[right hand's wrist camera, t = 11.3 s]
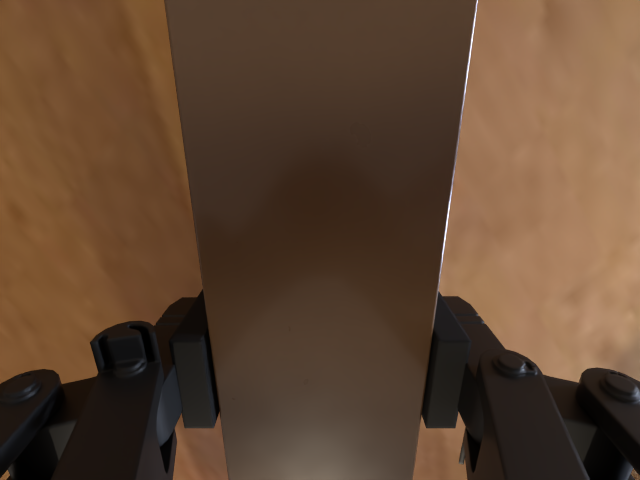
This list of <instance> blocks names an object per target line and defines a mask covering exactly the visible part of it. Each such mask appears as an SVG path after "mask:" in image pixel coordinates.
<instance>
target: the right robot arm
mask: <svg viewBox="0 0 640 480" xmlns="http://www.w3.org/2000/svg"><path fill="white" fill-rule="evenodd" d="M90 344H91V348H92V351H93V355H94V359H95V362H96V366H97V369H98V375H97V376H96V377H92V378H89V379H84V380H79V381H75V382H70V383H65V384H61V381H60V378H59V375H58V374H57V373H56V372H55V371H53V370H46V369H41V370H34V371H29V372H25V373H23V374H19V375H16V376H14V377H13V378H11V379H9V380H7V381H5V382H3V383H1V384H0V478H1V477H2V475H3V474H4V473H5V472H6V471H7V469H8V472H9V474H10V476H9V477H8V479H7V480H173V471H174V463H175V454H176V445H177V439H176V433H175V426H176V423H177V421H178V419H179V417H180V415H181V413H182V417H183V422H184V427H185V428H214V426H215V423H216V420H217V417H218V414H219V403H218V396H217V388H216V381H215V374H214V366H213V359H212V351H211V344H210V336H209V329H208V322H207V314H206V307H205V299H204V292H203V289H202V291H201V293H200V294H199V296H198V297H182V298H181V299H179V300H178V301H176V302H175V303H173V304H172V305H170V306H169V307H168V308H167V310H166V311H165V312H164V314H163V315H162V317H160V319H159V320H158V321H157V323H156V325H154V326H153V325H151V324H150V323H148V322H144V321H129V322H125V323H120V324H117V325H114V326H112V327H110V328H107V329H105V330H104V331H102V332H101V333H99V334H98V335H96V336H95V337H94V338H93V340H92V341H91V342H90ZM458 411H459V413H460V415H461V417H462V419H463V422H464V424H465V426H466V428H465V433H464V438H463V443H462V448H461V453H460V458H459V464H463V465H464V460H465V462H466V470H467V479H468V480H635V479H634V478H633V476H632V475H631V472H632V469H633V468H634V469H635V470H636V472H637V473H638V474H639V475H640V382H639V381H637V380H635V379H633V378H631V377H629V376H627V375H625V374H623V373H620V372H617V371H614V370H610V369H603V368H590V369H587V370H585V371H584V372H583V373H582V375H581V378H580V381H579V383H577V382H572V381H568V380H563V379H558V378H554V377H549V376H546V375H543V374H542V372H541V370H540V369H539V368H538V366H537V365H536V364H535V363H534V362H532V361H531V360H530V359H528V358H527V357H525V356H523V355H521V354H519V353H517V352H514V351H510V350H506V349H505V348H504V347H503V345H502V344H501V343H500V342H499V340H498V339H497V338H496V336H495V335H494V334H493V333H492V331H491V330H490V329H489V328H488V326H487V325H486V324H484V321H483V320H482V319H481V317H480V316H478V313H477V312H476V311H475V310H474V308H473V307H472V306H471V305H470V304H469V303H467V302H466V301H464V300H463V299H461V298H460V297H458V296H441V294H440V292H439V291H438V297H437V305H436V312H435V319H434V327H433V334H432V341H431V349H430V356H429V363H428V371H427V378H426V385H425V393H424V400H423V407H422V417H423V420H424V423H425V426H426V428H455V427H456V422H457V417H458Z"/></svg>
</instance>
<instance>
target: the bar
mask: <svg viewBox="0 0 640 480" xmlns="http://www.w3.org/2000/svg"><path fill="white" fill-rule="evenodd" d="M164 2H165V10H166V17H167V24H168V32H169V39H170V47H171V54H172V62H173V69H174V76H175V84H176V91H177V99H178V106H179V114H180V121H181V128H182V136H183V143H184V151H185V158H186V166H187V173H188V180H189V188H190V195H191V203H192V210H193V218H194V225H195V232H196V240H197V247H198V255H199V262H200V270H201V277H202V284H203V292H204V299H205V307H206V314H207V322H208V329H209V336H210V344H211V351H212V359H213V366H214V374H215V381H216V388H217V396H218V403H219V411H220V418H221V426H222V433H223V440H224V448H225V455H226V463H227V470H228V478H229V480H413V473H414V466H415V458H416V451H417V444H418V437H419V429H420V422H421V415H422V407H423V400H424V393H425V385H426V378H427V371H428V363H429V356H430V349H431V341H432V334H433V327H434V319H435V312H436V305H437V297H438V290H439V283H440V275H441V268H442V261H443V253H444V246H445V239H446V231H447V224H448V217H449V209H450V202H451V195H452V187H453V180H454V173H455V165H456V158H457V151H458V143H459V136H460V129H461V122H462V114H463V107H464V100H465V92H466V85H467V78H468V70H469V63H470V56H471V48H472V41H473V34H474V26H475V19H476V12H477V4H478V0H164Z"/></svg>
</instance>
